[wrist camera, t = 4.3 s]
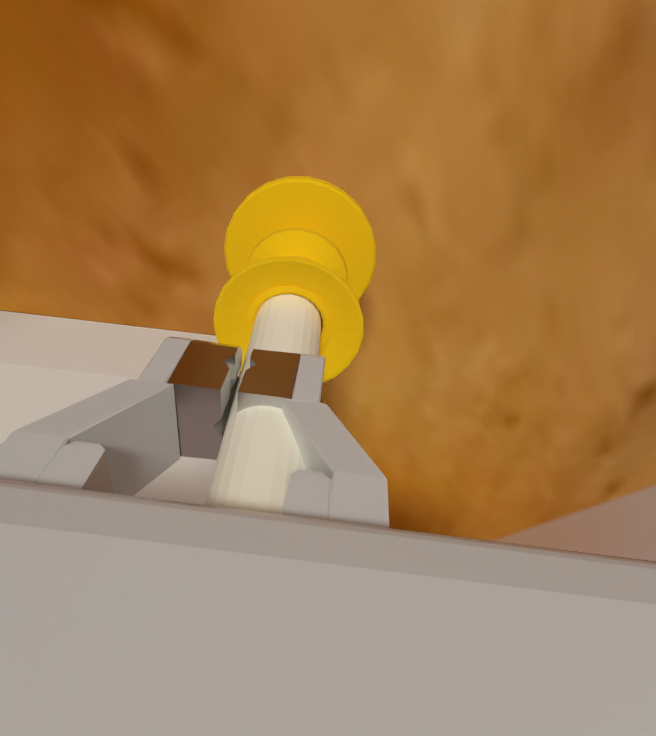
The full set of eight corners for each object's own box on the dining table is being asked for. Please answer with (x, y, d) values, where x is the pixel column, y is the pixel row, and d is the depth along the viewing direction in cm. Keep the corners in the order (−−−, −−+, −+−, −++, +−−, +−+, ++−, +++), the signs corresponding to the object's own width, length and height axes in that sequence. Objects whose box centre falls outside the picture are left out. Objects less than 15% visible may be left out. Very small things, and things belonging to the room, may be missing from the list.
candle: (227, 311, 18) (-40, 973, 5) (225, 165, 15) (-392, 856, 2) (363, 325, 18) (428, 988, 5) (387, 185, 15) (649, 900, 3)
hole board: (250, 339, 23) (234, 389, 20) (244, 543, 32) (232, 600, 29) (-89, 300, 22) (-165, 344, 19) (1, 518, 31) (-39, 574, 28)
